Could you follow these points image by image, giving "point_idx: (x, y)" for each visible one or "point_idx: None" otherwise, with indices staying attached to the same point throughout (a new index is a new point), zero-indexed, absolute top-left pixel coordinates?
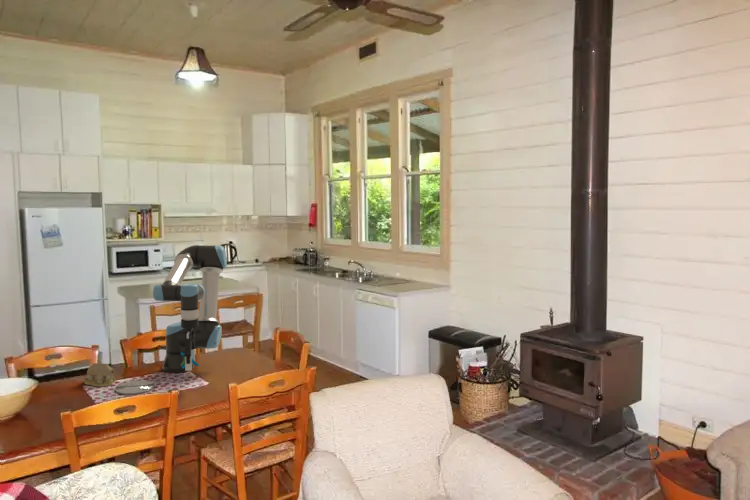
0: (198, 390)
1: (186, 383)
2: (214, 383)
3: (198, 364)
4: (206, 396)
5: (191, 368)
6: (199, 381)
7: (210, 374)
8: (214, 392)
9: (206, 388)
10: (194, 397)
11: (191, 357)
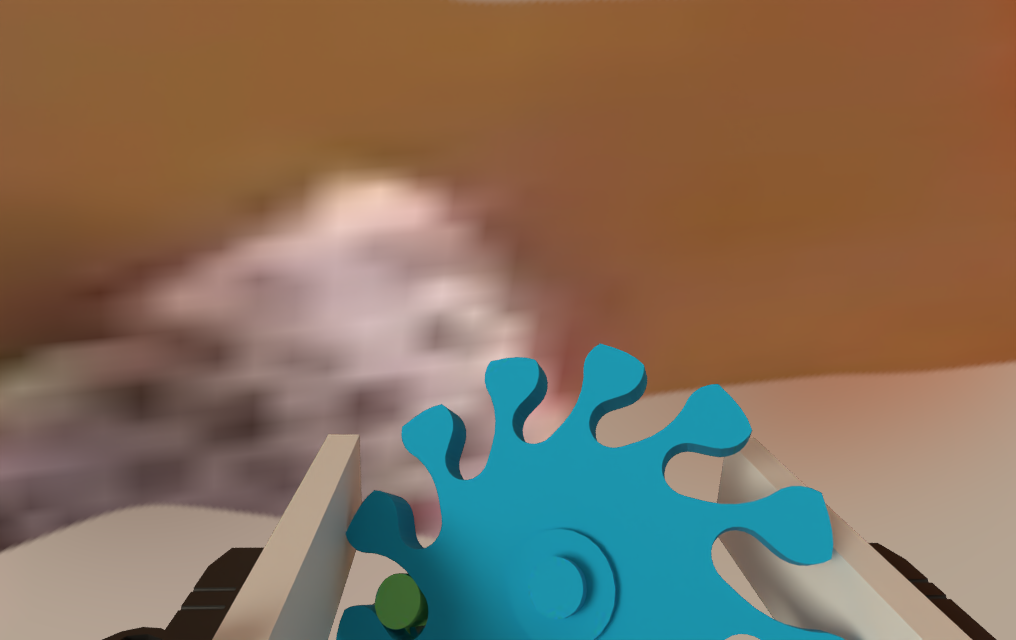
0: (625, 271)
1: (367, 415)
2: (399, 106)
3: (642, 364)
4: (844, 170)
5: (772, 457)
6: (306, 288)
7: (19, 180)
8: (735, 87)
9: (573, 190)
10: (838, 290)
11: (945, 615)
